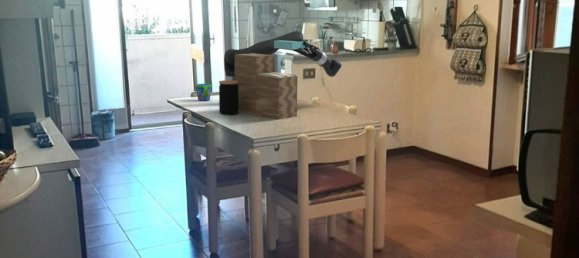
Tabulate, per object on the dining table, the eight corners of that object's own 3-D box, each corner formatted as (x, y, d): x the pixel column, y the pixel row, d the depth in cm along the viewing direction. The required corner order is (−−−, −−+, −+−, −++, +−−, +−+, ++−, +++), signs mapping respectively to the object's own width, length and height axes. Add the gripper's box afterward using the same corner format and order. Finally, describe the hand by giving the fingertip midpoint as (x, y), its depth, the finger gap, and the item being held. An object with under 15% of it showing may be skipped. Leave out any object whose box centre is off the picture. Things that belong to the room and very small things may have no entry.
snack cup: (194, 98, 365) (194, 83, 363) (211, 98, 367) (210, 82, 365) (196, 102, 350) (195, 86, 348) (213, 102, 353) (213, 85, 350)
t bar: (292, 49, 305) (292, 42, 305) (274, 48, 315) (274, 40, 314) (315, 47, 319) (315, 40, 318) (297, 46, 328) (297, 39, 327)
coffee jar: (241, 112, 318) (241, 80, 314) (233, 115, 308) (233, 83, 304) (224, 111, 321) (224, 79, 318) (216, 114, 311) (215, 82, 308)
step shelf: (278, 119, 299) (278, 58, 293) (235, 110, 324) (234, 54, 318) (296, 116, 309) (297, 57, 302) (253, 107, 334) (253, 53, 327)
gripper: (311, 49, 337) (293, 35, 325) (329, 50, 327) (312, 36, 315) (306, 60, 336) (289, 47, 324) (324, 62, 326) (307, 48, 314)
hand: (300, 42), depth 319 cm, fingers closed on t bar, 4 cm apart
